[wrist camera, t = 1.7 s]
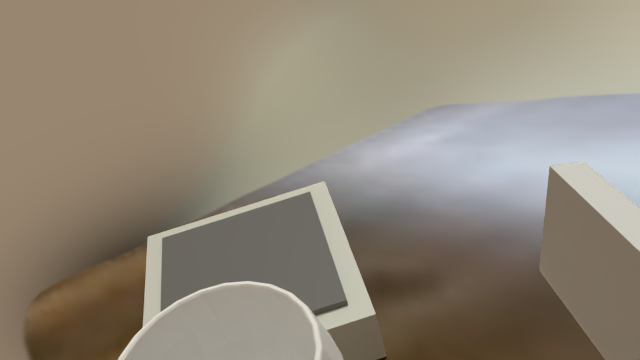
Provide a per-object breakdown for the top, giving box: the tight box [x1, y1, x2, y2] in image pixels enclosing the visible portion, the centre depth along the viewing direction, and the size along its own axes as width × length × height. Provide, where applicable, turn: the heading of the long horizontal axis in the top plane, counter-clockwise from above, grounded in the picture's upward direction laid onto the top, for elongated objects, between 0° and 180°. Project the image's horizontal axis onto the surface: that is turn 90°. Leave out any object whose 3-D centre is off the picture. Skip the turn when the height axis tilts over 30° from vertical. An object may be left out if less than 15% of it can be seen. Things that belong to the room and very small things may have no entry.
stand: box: [143, 181, 387, 360], centre depth 46 cm, size 16×16×5 cm
